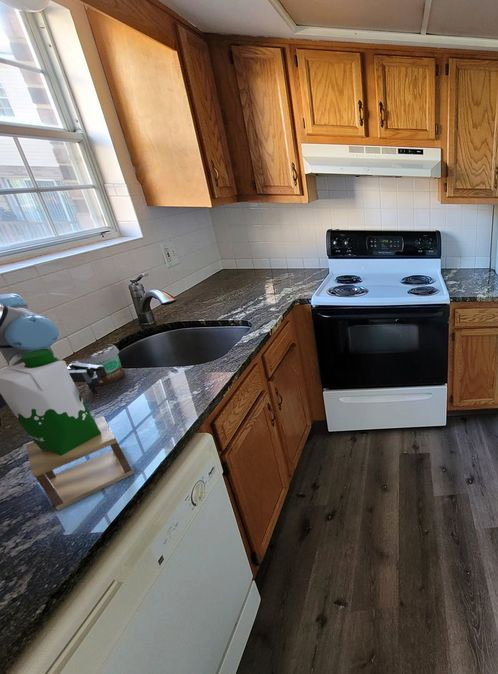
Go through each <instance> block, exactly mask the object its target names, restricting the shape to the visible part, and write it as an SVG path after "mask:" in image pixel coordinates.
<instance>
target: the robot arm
mask: <svg viewBox="0 0 498 674" xmlns="http://www.w3.org/2000/svg"><path fill="white" fill-rule="evenodd" d="M59 332H60V331H59V328H58V326H57V325H56V323H54V322H53V321H52V320H51V319H49V318H48V317H47V316H43V315H40V314H37V313H36V312H34V311H31V310H30V309H29V307H28V304H27V303H26V302H25V300H24V299H23V296H21V295H19V294H17V293H4V294H0V354H1V355H2V357H3V358H4V360H5V361H6V363H7V366H8V367H11V366H14V365H18V364H21V363H24V361H23V360H22V358H21V357H22V356H23V355H24V354H26V353H29V352H32V351H35V350H40V349H50V350H51V352H52V353H53V355H54V354H55V353H54V351H53V349H52V348H51V346H53V345H54V344H55V343H56V341H58V338H59V334H60V333H59ZM54 356H55V355H54ZM8 367H7V368H8ZM67 368H68V371H69V374H70V376H71V378H72V380H73V382H74V383H86V385H87V387H88V388H89V389H90V392H91V393H92V395H96V394H97V395H98V393H99V392H98V390H97V388H96V386H94V385H96V384H99V383H100V381H99V379H98V378H99V377H101V378H102V377H106V376H107V373H106V371H105V369H104V367H103V366H102V365H93V364H85V363H79V362H78V361H76V360H73V361H71V362H70V363H69V364H68V366H67ZM6 406H8V404H7V403H6V401H5V400H4V398H3V397H2V395H1V393H0V410H1V409H2V408H4V407H6ZM0 427H2V422H1V419H0Z"/></svg>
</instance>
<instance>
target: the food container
mask: <svg viewBox="0 0 498 674" xmlns="http://www.w3.org/2000/svg"><path fill="white" fill-rule="evenodd" d="M119 353H120V350H119V349H118V347H117V346H116V345H114V344H113V343H106V347H105V348H103V349H101V350H98V351H94V352H93V353H91V354H89V355H88V356H87V357H85V358H83V359H76V360H75V361H78V362H79V363H85V364H93V365H102V366H103V367H104V369H105V371H106V373H107V376H106V377H102V378H101V377H99V378H98V379H99V381H100V383H99V384H96V385H94V386H95V387H98V386H104V385H108V384H110V383H113V382H115V381H118V380H120V379H122V378H123V377H124V375H125V372H124V369H123V366H122V362H121V360H120V357H119Z"/></svg>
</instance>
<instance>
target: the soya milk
mask: <svg viewBox="0 0 498 674" xmlns="http://www.w3.org/2000/svg"><path fill="white" fill-rule="evenodd" d="M53 353H54V352H53ZM53 353H52V352H51V350H50V349H40V350H35V351H32V352H29V353H26V354H24V355H23V356H22V357H21V358H22V360H23V361H24V363H21V364H18V365H14V366H11V367H6V369H2V370H0V393H1V395H2V397H3V398H4V400H5V401H6V403H7V406H8V407H9V409H10V410H11V412H12V414H13V415H14V416H15V418H16V419H17V421H18V422H19V424H20V426H21V427H22V428H23V430H24V432H25V433H26V434H27V436H28V437H29V438H30V439H31V440H32V441H33V442H35V443H36V444H37V446H38V447H39V448H40V449H43V450H46V451H49V452H52V453H55V454H58V455H61V456H62V455H64V454H65V453H67V452H69V451H71V450H73V449H74V448H76V447H78V446H80V445H81V444H83V443H85V442H87V441H89V440H90V439H92V438H94V437H96V436H97V435H99V434H101V432H100V430H99V428H98V426H97V424H96V422H95V420H94V419H95V418H94V416H93V415H92V413H91V411H90V409H89V407H88V406H87V404H86V402H85V400H84V398H83V397H82V395H81V393H80V391H79V389H78V387H77V385H76V384H75V382H73V380H72V378H71V376H70V374H69V371H68V368H67V367H68V365H67V362H66V361H65V360H62V359H58V357H56V356H55V355H53Z"/></svg>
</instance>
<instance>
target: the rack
mask: <svg viewBox="0 0 498 674" xmlns="http://www.w3.org/2000/svg"><path fill="white" fill-rule="evenodd" d="M94 420H95V422H96V424H97V426H98V428H99V430H100V432H101V434H99V435H97V436H96V437H94V438H92V439H90V440H89V441H87V442H85V443H83V444H81V445H80V446H78V447H76V448H74V449H73V450H71V451H69V452H67V453H65V454H64V455H62V456H61V455H58V454H55V453H52V452H49V451H46V450H43V449H40V448H39V447H38V446H37V444H36V443H35V442H34V441H33V442H31V443H28V444H25V448H26V452H27V456H28V457H27V458H28V462H29V467H30V470H31V474H32V476H33V477H34V478H35V479H36V481H37V482H38V483H39V485H40V486H41V488H42V490H43V491H44V492H45V494H46V495H47V496H48V498H49V499H50V501H51V503H52V504H53V505H54V507H55V509H56V511H60V510H62V509H64V508H66V507H68V506H70V505H72V504H75V503H76V502H79V501H80V500H82V499H85V498H87V497H89V496H91V495H93V494H95V493H97V492H99V491H101V490H103V489H105V488H108V487H109V486H111V485H113V484H115V483H118V482H119V481H121V480H123V479H126V478H128V477H130V476H132V475H134V473H135V472H134V470H133V468H132V467H131V464H130V463H129V462H128V460H127V458H126V456H125V454H124V452H123V450H122V448H121V447H120V445H119V443H118V440H117V438H116V436H115V435H114V433H113V431H112V429H111V428H110V425H109V424H108V422H107V421H106V419H105V417H104V416H103V415H101V416H100V417H97V418H94ZM109 446H110V448H111V449H110V450H108V451H105V452H103V453H101V454H99V455H96V456H94V457H92V458H90V459H87V460H85V461H83V462H81V463H78V464H76V465H74V466H71V467H68V468H67V469H64V470H62V471H60V472H57V473H55V471H54V470H56V469H58V468H60V467H63V466H65V465H68V464H70V463H73V462H75V461H77V460H79V459H82V458H84V457H86V456H90V455H91V454H93V453H95V452H98V451H101V450H103V449H105V448H108V447H109Z"/></svg>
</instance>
